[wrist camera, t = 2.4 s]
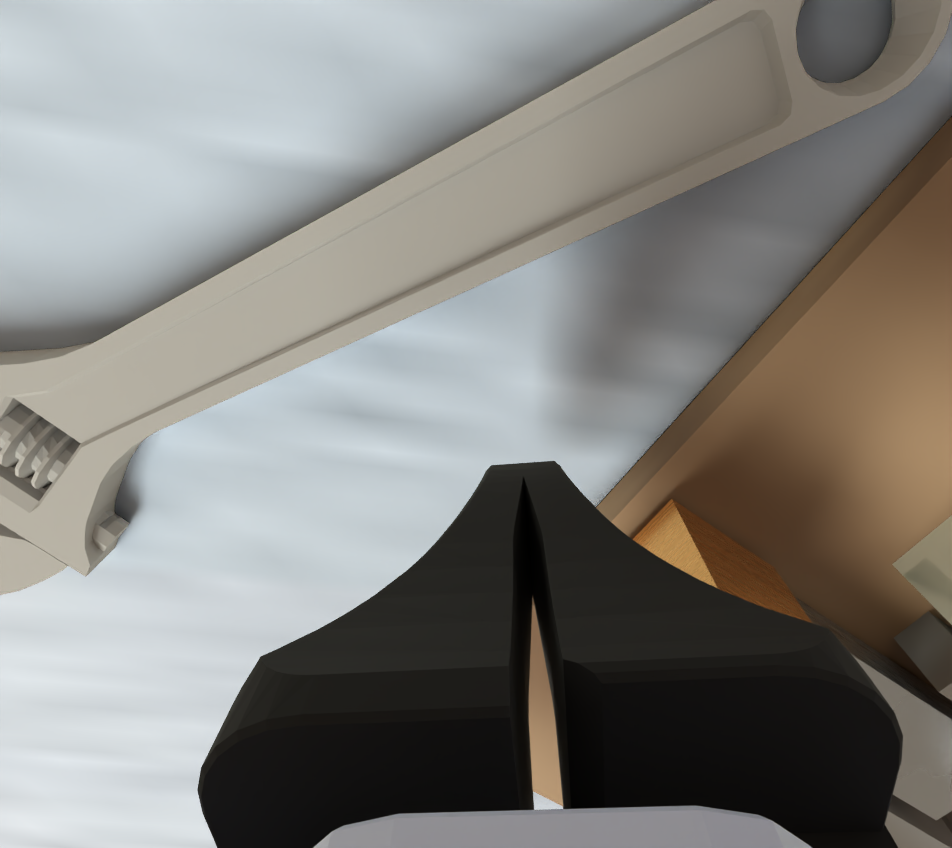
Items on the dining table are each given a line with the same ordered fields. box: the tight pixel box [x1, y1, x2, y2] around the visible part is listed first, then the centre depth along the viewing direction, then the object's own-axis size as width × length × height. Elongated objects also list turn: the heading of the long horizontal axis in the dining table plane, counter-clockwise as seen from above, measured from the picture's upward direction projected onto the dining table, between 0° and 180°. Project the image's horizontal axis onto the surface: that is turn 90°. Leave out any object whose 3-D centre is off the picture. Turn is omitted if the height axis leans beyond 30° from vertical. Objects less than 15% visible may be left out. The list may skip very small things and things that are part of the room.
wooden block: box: [632, 499, 952, 820], centre depth 13 cm, size 3×10×3 cm, turn 56°
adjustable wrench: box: [0, 0, 952, 595], centre depth 13 cm, size 25×6×2 cm, turn 111°
